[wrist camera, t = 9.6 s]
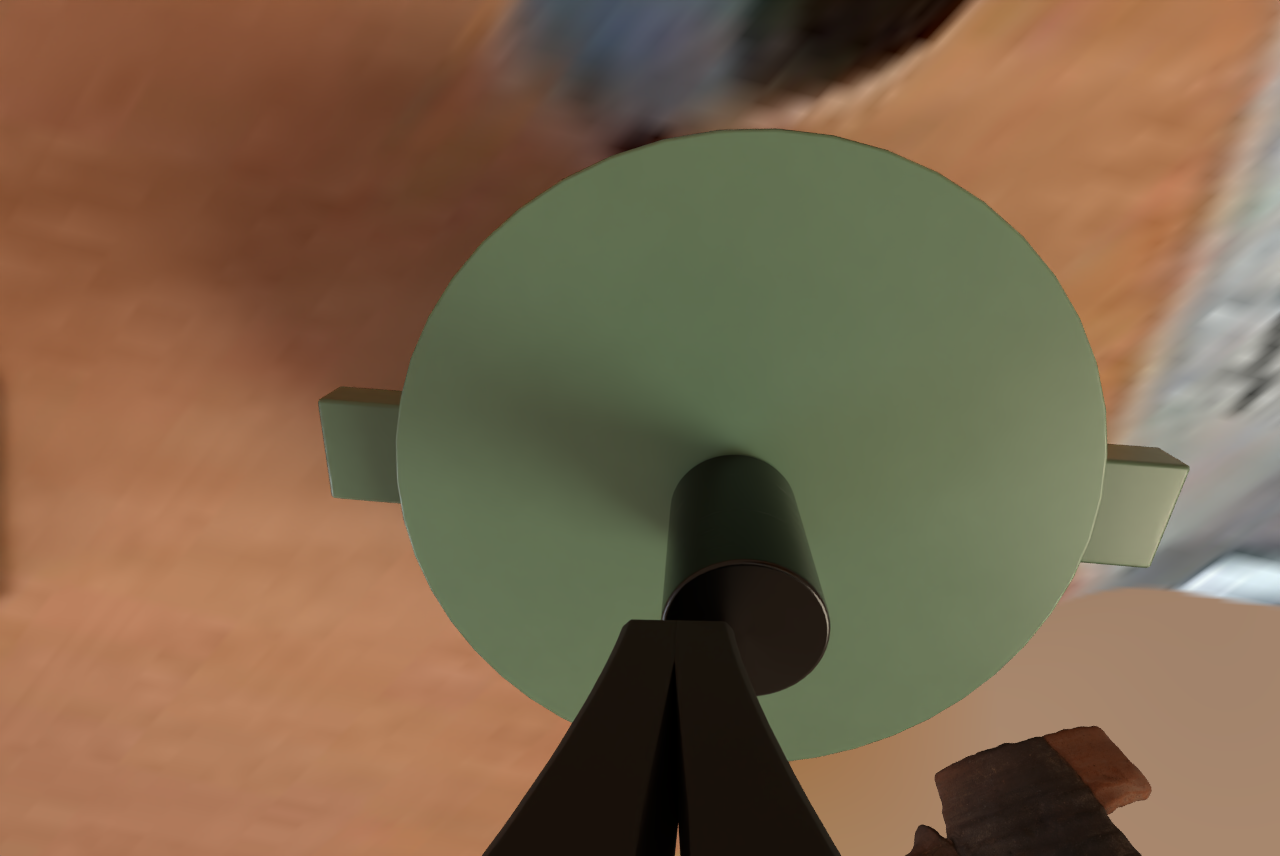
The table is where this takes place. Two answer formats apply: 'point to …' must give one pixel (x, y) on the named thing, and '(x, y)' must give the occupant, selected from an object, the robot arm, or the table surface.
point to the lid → (755, 430)
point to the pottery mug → (1036, 799)
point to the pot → (1121, 536)
